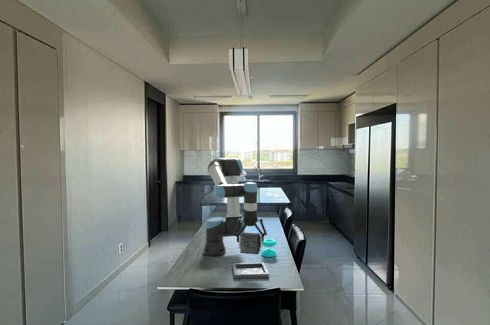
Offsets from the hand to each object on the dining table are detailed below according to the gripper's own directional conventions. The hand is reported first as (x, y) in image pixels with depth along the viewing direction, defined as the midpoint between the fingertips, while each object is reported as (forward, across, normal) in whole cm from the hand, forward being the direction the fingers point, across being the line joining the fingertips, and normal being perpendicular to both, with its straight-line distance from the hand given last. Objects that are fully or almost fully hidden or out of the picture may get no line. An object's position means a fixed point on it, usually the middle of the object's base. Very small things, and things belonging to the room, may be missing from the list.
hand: (250, 247), depth 184 cm
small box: (+3, 0, 0) cm, 3 cm away
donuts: (+15, +16, +28) cm, 36 cm away
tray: (+15, 0, 0) cm, 15 cm away
